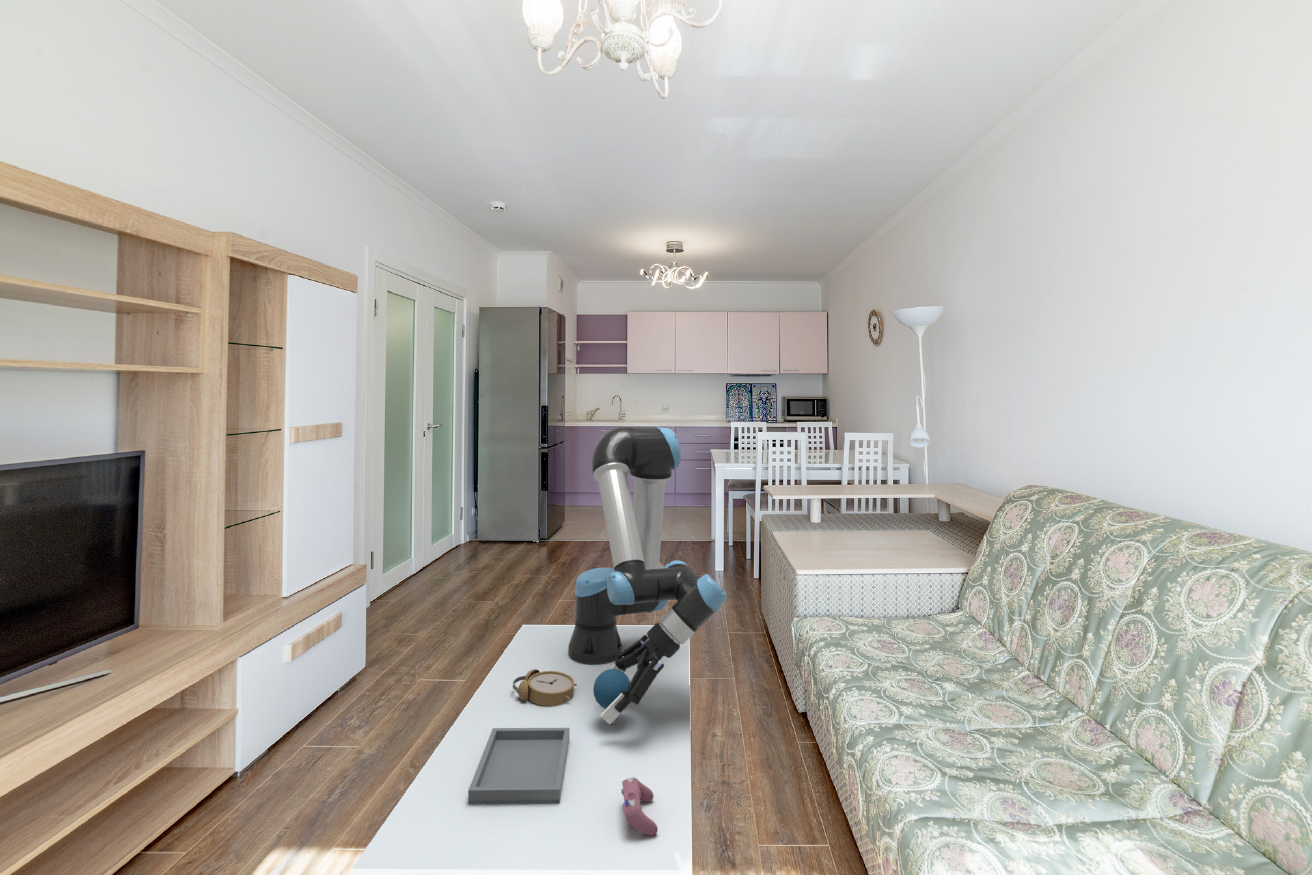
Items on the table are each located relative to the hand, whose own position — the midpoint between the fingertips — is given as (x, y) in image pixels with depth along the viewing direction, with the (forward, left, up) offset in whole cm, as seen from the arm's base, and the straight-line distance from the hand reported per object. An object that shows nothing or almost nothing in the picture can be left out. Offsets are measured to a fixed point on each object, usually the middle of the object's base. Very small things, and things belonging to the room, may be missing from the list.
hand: (601, 703), depth 132 cm
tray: (+21, +6, -5) cm, 22 cm away
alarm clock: (+5, -19, -5) cm, 21 cm away
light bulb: (-2, +1, -5) cm, 5 cm away
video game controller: (+10, +29, -5) cm, 31 cm away
